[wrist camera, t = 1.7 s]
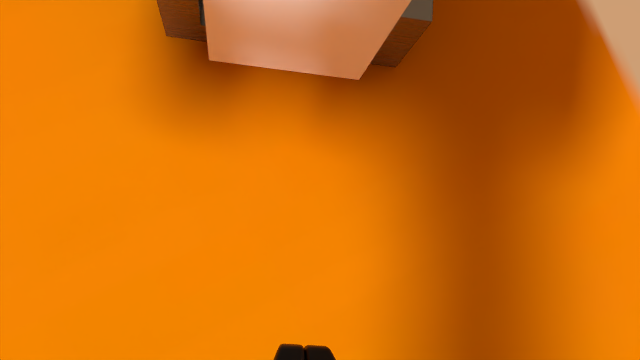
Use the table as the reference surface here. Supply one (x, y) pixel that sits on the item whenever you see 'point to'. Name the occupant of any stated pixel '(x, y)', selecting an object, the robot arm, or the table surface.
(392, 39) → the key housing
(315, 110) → the table surface
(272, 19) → the plunger key
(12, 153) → the table surface
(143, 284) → the table surface
